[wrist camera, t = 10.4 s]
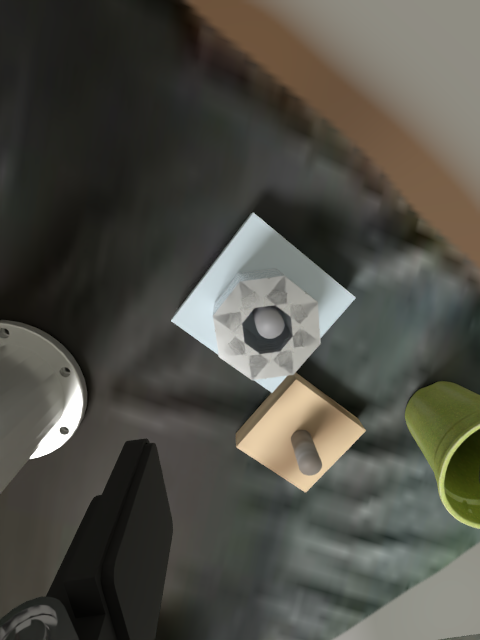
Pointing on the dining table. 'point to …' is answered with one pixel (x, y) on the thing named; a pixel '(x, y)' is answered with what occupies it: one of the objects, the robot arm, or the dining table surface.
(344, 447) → the stand
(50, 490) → the dining table surface
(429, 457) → the plant pot
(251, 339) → the ring
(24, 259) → the dining table surface
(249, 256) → the peg base
